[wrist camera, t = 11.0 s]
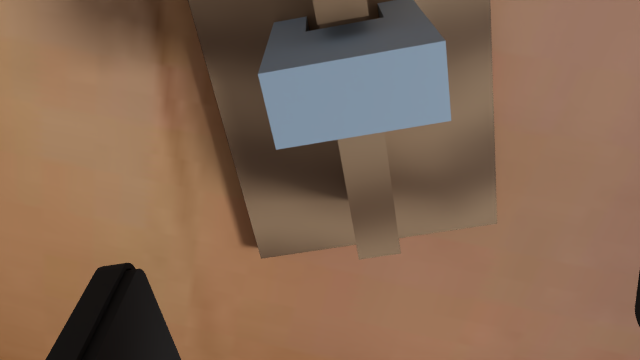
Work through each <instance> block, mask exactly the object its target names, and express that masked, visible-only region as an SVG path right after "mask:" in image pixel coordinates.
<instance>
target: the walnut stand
mask: <svg viewBox="0 0 640 360" xmlns="http://www.w3.org/2000/svg"><path fill="white" fill-rule="evenodd" d="M388 1H393V0H188V2H189V5H190V9H191V12H192V16H193V19H194V23H195V26H196V30H197V33H198V37H199V41H200V44H201V48H202V51H203V55H204V58H205V62H206V65H207V69H208V72H209V76H210V79H211V83H212V86H213V90H214V94H215V97H216V101H217V104H218V108H219V111H220V115H221V118H222V122H223V125H224V129H225V132H226V136H227V140H228V143H229V147H230V150H231V154H232V157H233V161H234V164H235V168H236V171H237V175H238V178H239V182H240V186H241V189H242V193H243V196H244V200H245V203H246V207H247V210H248V214H249V217H250V221H251V224H252V228H253V231H254V235H255V239H256V242H257V246H258V249H259V253H260V256H261V258H268V257H275V256H282V255H288V254H295V253H302V252H309V251H315V250H322V249H329V248H336V247H342V246H349V245H357V251H358V257H359V259H366V258H373V257H380V256H386V255H393V254H400V253H401V252H400V244H399V238H403V237H410V236H417V235H424V234H430V233H437V232H444V231H451V230H457V229H464V228H471V227H478V226H484V225H491V224H497V204H496V172H495V139H494V107H493V75H492V42H491V10H490V0H414V1H415V3H416V4H417V5H418V6H419V8H420V9H421V10H422V12H423V13H424V14H425V15H426V17H427V18H428V19H429V20H430V22H431V23H432V24H433V25H434V27H435V28H436V29H437V31H438V32H439V33H440V34H441V36H442V37H443V38H444V39H445V41H446V54H447V68H448V82H449V96H450V110H451V121H447V122H441V123H435V124H429V125H423V126H417V127H411V128H405V129H399V130H393V131H387V132H381V133H375V134H368V135H362V136H356V137H350V138H344V139H338V140H332V141H326V142H320V143H314V144H308V145H302V146H296V147H290V148H284V149H278V150H276V147H275V143H274V139H273V135H272V131H271V127H270V122H269V118H268V114H267V110H266V106H265V102H264V98H263V93H262V89H261V85H260V81H259V77H258V72H259V69H260V65H261V62H262V59H263V56H264V53H265V49H266V46H267V43H268V40H269V36H270V33H271V30H272V27H273V24H274V22H279V21H285V20H290V19H295V18H301V17H306V16H307V21H308V26H309V31H311V30H317V29H322V28H328V27H333V26H339V25H344V24H350V23H355V22H361V21H366V20H372V19H377V18H379V12H378V5H377V3H382V2H388Z"/></svg>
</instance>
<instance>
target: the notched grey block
mask: <svg viewBox="0 0 640 360" xmlns="http://www.w3.org/2000/svg"><path fill="white" fill-rule="evenodd" d="M377 5H378V12H379V18H377V19H372V20H366V21H361V22H355V23H350V24H344V25H339V26H333V27H328V28H322V29H317V30H311V31H309V26H308V21H307V16H306V17H301V18H295V19H290V20H285V21H279V22H274V24H273V27H272V30H271V33H270V36H269V40H268V43H267V46H266V49H265V53H264V56H263V59H262V62H261V65H260V69H259V72H258V77H259V81H260V85H261V89H262V93H263V98H264V102H265V106H266V110H267V114H268V118H269V122H270V127H271V131H272V135H273V139H274V143H275V147H276V150H278V149H284V148H290V147H296V146H302V145H308V144H314V143H320V142H326V141H332V140H338V139H344V138H350V137H356V136H362V135H368V134H375V133H381V132H387V131H393V130H399V129H405V128H411V127H417V126H423V125H429V124H435V123H441V122H447V121H451V110H450V96H449V82H448V68H447V54H446V41H445V39H444V38H443V37H442V36H441V34H440V33H439V32H438V31H437V29H436V28H435V27H434V25H433V24H432V23H431V22H430V20H429V19H428V18H427V17H426V15H425V14H424V13H423V12H422V10H421V9H420V8H419V6H418V5H417V4H416V3H415V1H414V0H393V1H388V2H382V3H377Z"/></svg>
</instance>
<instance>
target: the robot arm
mask: <svg viewBox="0 0 640 360" xmlns="http://www.w3.org/2000/svg"><path fill="white" fill-rule="evenodd" d="M635 315H636V319H637V322H638V324H639V326H640V272H639V280H638V288H637V296H636V304H635ZM46 360H181V358H180V356H179V353H178V351H177V349H176V346H175V344H174V341H173V339H172V337H171V334H170V332H169V330H168V327H167V325H166V322H165V320H164V318H163V315H162V313H161V310H160V308H159V306H158V303H157V301H156V298H155V296H154V294H153V291H152V289H151V287H150V284H149V282H148V279H147V277H146V275H145V273H144V271H143V270H142V269H135V267H134V266H133V265H132V264H131V263H123V264H116V265H109V266H103V267H100V268H98V269H97V270H96V271H95V273H94V275H93V277H92V279H91V280H90V282H89V284H88V286H87V287H86V289H85V291H84V293H83V294H82V296H81V298H80V300H79V302H78V303H77V305H76V307H75V309H74V310H73V312H72V314H71V316H70V317H69V319H68V321H67V323H66V325H65V326H64V328H63V330H62V332H61V333H60V335H59V337H58V339H57V340H56V342H55V344H54V346H53V347H52V349H51V351H50V353H49V355H48V356H47V358H46Z"/></svg>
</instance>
